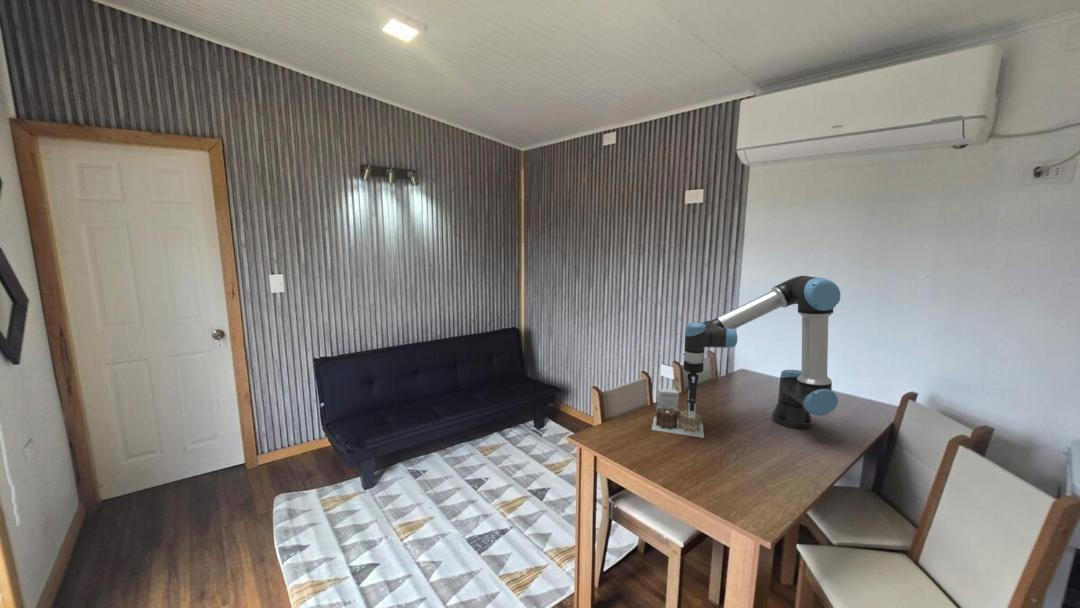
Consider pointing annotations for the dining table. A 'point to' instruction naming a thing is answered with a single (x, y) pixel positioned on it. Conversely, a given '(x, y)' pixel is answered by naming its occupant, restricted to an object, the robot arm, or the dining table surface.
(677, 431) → the gear board
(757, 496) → the dining table surface
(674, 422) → the gear
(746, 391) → the dining table surface
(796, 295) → the robot arm
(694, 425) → the gear
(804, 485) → the dining table surface
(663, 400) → the ink box
